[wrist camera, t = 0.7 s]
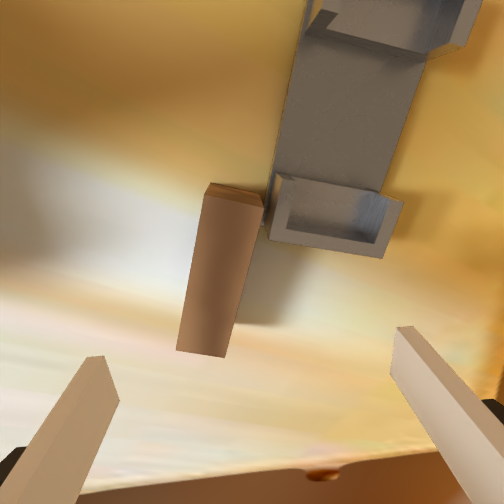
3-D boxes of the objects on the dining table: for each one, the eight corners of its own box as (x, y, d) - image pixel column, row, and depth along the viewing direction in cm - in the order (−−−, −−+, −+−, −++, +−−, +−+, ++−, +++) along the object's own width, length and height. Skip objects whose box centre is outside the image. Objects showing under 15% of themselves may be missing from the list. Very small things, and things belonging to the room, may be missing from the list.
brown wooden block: (185, 315, 35) (175, 350, 29) (210, 182, 29) (204, 194, 23) (226, 322, 35) (224, 358, 30) (259, 194, 30) (264, 208, 24)
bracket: (259, 222, 30) (264, 242, 25) (316, -49, 22) (342, -109, 17) (358, 239, 32) (384, 262, 26) (445, -12, 24) (509, -56, 18)
